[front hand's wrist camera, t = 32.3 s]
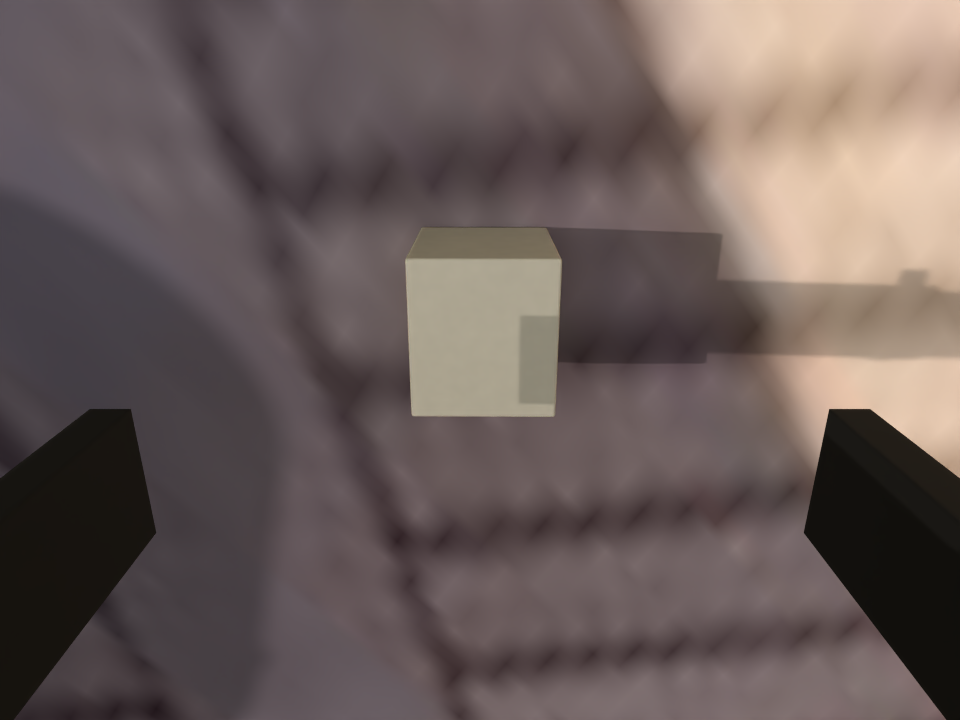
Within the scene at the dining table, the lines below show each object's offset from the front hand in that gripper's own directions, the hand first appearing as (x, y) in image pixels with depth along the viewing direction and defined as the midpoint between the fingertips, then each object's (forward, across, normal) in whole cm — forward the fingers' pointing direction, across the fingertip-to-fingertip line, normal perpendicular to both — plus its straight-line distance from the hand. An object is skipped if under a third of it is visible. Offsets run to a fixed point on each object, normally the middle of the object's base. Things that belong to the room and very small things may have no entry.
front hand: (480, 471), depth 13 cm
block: (+12, 0, 0) cm, 12 cm away
